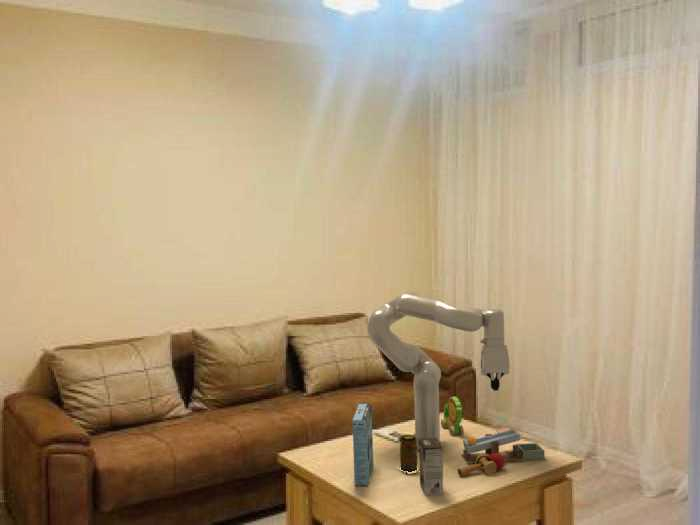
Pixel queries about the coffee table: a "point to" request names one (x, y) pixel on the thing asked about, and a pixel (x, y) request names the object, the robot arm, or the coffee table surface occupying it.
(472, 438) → the ball
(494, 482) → the coffee table surface
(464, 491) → the coffee table surface
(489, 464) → the kendama
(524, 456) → the green square tray
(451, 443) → the coffee table surface
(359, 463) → the gum box
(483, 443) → the lever
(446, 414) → the toy lion
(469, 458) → the stand
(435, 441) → the coffee box
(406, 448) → the condiment
